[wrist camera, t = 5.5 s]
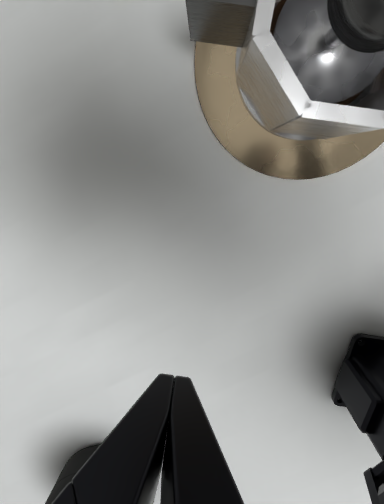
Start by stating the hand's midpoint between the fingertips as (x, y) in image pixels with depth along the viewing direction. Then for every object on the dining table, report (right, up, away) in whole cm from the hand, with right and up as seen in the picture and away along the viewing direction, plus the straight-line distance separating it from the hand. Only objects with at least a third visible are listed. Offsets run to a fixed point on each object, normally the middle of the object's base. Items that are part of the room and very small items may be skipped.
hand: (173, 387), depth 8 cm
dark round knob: (+7, +14, +6) cm, 16 cm away
